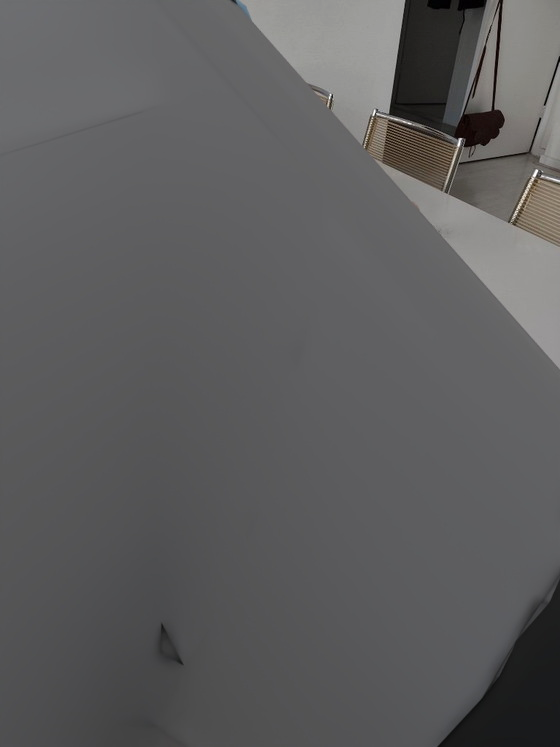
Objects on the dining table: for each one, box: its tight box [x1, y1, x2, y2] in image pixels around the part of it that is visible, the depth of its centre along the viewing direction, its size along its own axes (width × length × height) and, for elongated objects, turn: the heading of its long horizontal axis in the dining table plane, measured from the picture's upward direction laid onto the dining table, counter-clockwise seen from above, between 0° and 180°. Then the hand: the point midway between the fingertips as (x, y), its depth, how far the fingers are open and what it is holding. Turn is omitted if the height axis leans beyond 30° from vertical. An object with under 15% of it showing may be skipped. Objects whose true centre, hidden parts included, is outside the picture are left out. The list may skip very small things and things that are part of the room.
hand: (273, 527), depth 38 cm, fingers open, 13 cm apart
